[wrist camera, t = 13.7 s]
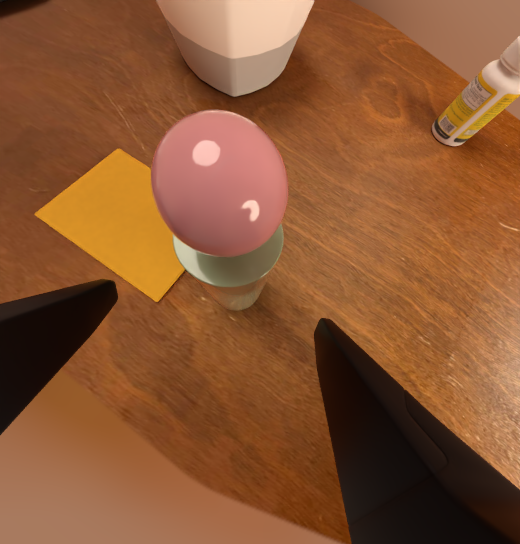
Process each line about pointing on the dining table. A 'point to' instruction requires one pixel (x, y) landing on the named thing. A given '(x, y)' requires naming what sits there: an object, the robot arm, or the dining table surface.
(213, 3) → the bowl
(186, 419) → the dining table surface
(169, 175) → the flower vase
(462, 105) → the supplement bottle
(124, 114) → the dining table surface
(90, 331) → the robot arm
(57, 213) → the cloth
